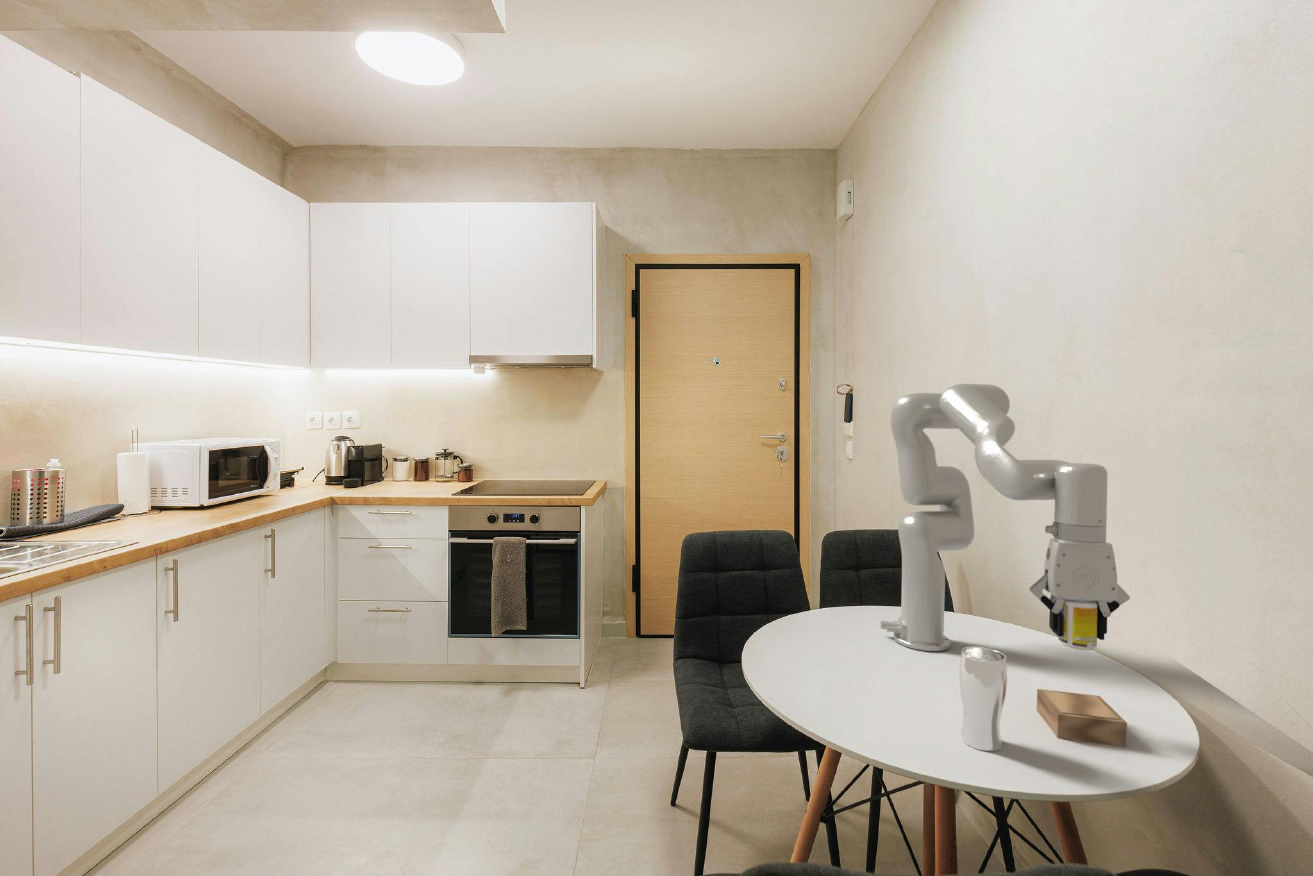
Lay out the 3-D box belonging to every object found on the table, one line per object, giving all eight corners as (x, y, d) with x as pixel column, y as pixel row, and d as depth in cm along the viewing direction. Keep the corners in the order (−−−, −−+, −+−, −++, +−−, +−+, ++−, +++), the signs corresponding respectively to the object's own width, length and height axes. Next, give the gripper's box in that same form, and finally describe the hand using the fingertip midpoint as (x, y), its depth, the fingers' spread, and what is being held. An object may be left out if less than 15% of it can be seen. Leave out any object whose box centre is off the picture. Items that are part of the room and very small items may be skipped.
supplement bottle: (1103, 648, 106) (1104, 590, 105) (1085, 653, 103) (1086, 594, 103) (1070, 638, 111) (1071, 582, 110) (1051, 643, 108) (1052, 586, 108)
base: (1057, 737, 103) (1058, 713, 103) (1036, 710, 113) (1037, 688, 112) (1125, 746, 100) (1126, 721, 100) (1098, 717, 110) (1099, 695, 110)
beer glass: (949, 731, 105) (951, 645, 104) (987, 730, 105) (990, 645, 105) (973, 754, 98) (976, 662, 97) (1014, 752, 98) (1017, 661, 98)
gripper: (1032, 534, 105) (1030, 638, 105) (1148, 540, 101) (1145, 648, 101) (1018, 527, 112) (1016, 624, 113) (1125, 532, 108) (1123, 633, 108)
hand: (1077, 634), depth 107 cm, fingers closed on supplement bottle, 5 cm apart
